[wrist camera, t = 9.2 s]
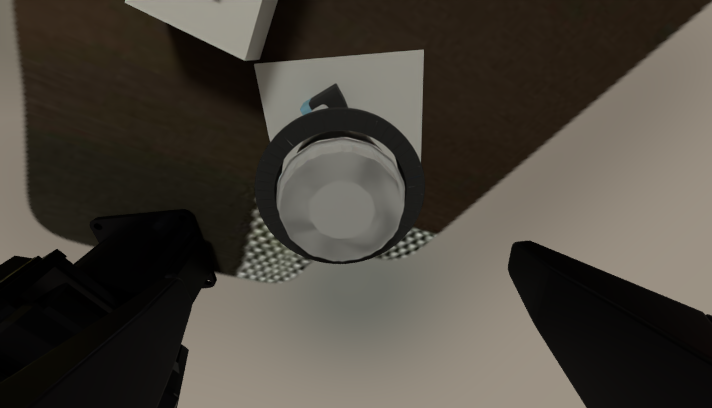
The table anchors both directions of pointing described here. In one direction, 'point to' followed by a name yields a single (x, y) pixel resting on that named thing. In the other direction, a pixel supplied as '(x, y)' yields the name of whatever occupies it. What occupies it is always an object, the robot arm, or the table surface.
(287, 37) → the table surface
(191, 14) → the power strip
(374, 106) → the rubber mat
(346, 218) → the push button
